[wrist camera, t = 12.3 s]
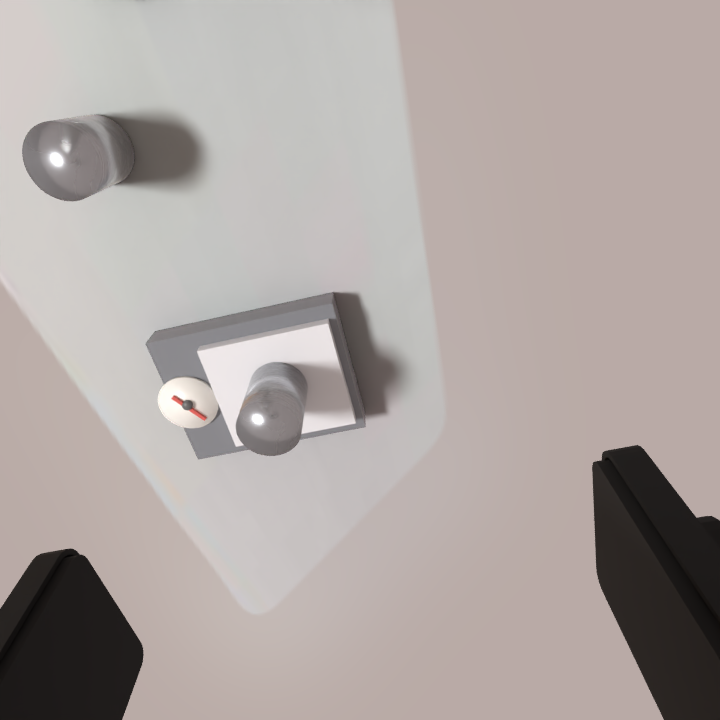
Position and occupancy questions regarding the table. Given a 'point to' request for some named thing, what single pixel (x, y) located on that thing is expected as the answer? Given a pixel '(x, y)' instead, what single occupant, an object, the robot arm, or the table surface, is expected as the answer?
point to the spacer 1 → (77, 156)
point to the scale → (243, 357)
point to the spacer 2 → (273, 409)
